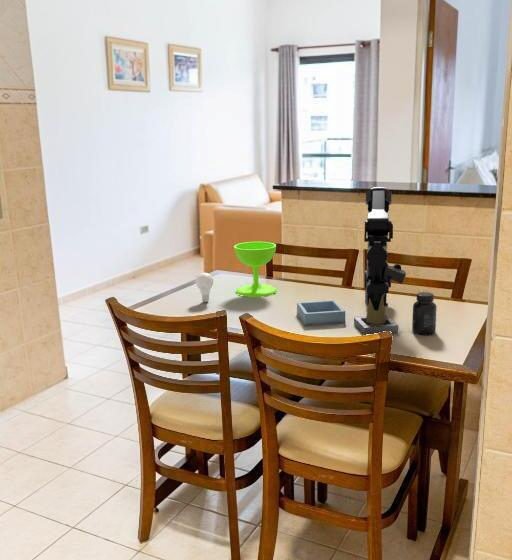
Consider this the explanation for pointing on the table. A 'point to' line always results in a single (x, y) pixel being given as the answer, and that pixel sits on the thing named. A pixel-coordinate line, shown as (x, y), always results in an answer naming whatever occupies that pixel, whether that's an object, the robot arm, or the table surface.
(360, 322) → the metal collar
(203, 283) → the lightbulb
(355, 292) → the table surface
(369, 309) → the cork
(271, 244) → the wineglass
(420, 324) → the supplement bottle
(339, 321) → the plastic tray
